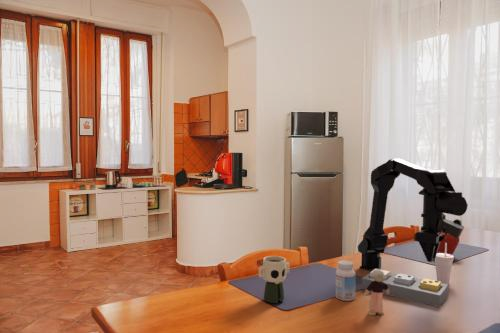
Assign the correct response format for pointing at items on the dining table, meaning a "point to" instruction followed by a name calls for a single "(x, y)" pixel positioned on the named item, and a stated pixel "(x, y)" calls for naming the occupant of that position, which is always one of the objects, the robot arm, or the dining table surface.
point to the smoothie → (443, 266)
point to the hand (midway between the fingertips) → (431, 260)
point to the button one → (386, 274)
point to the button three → (430, 284)
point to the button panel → (411, 290)
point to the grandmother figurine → (376, 293)
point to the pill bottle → (345, 281)
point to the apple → (448, 244)
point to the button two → (404, 279)
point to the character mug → (274, 277)
